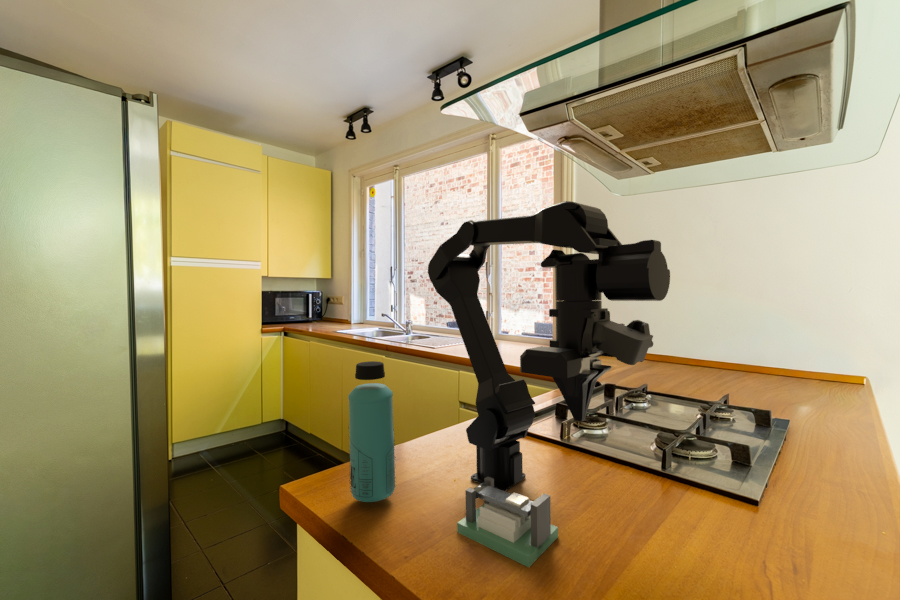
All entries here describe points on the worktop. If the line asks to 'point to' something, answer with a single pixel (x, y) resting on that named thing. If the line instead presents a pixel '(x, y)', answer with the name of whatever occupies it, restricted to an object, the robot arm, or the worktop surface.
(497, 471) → the robot arm
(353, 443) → the beverage bottle
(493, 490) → the strap
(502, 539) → the board
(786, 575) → the worktop surface
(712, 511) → the worktop surface
